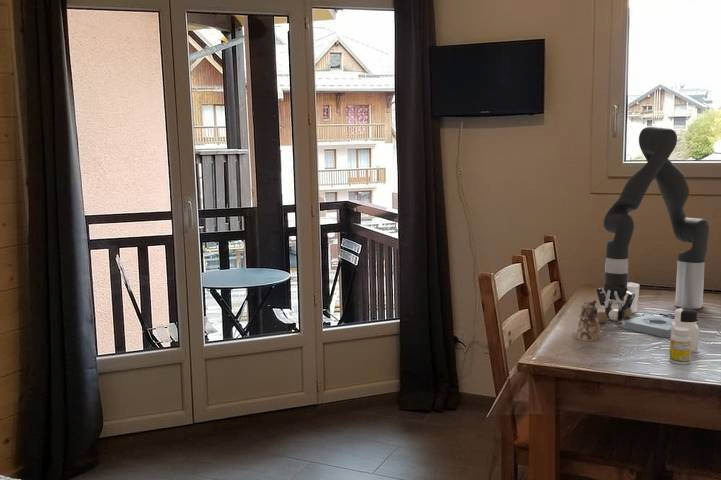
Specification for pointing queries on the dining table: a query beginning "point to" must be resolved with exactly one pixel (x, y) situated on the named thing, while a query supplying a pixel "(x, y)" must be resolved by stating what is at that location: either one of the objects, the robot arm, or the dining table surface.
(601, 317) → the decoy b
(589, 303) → the figurine
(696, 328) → the medicine bottle
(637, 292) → the white cup
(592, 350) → the dining table surface
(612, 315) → the ball
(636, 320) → the blue-grey square plate
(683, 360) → the supplement bottle
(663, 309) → the dining table surface
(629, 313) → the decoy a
